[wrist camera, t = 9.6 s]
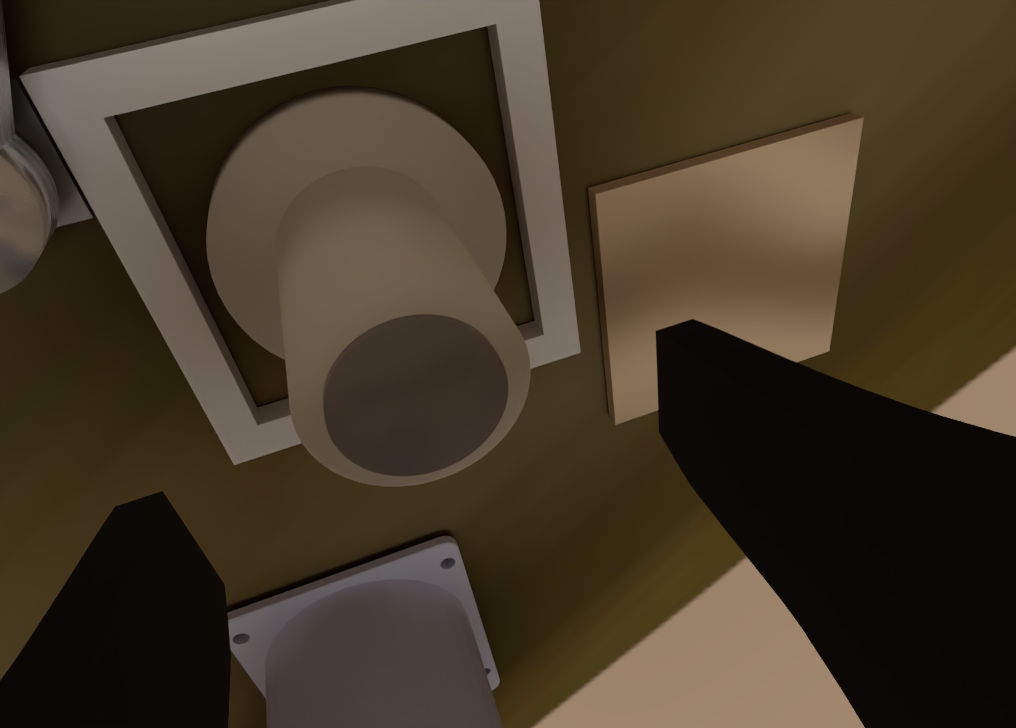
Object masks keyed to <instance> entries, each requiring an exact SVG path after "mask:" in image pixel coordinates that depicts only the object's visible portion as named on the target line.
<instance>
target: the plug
mask: <svg viewBox="0 0 1016 728" xmlns="http://www.w3.org/2000/svg"><path fill="white" fill-rule="evenodd" d="M206 246H207V259H208V263H209V268H210V272H211V276H212V279H213V282H214V284H215V287H216V290H217V292H218V295H219V296H220V298H221V300H222V302H223V304H224V305H225V307H226V309H227V311H228V312H229V313H230V315H231V316H232V317H233V319H234V320H235V321H236V322H237V324H238V325H239V326H240V327H241V328H242V329H243V330H244V331H245V332H246V333H247V334H248V335H249V336H250V337H251V338H252V339H253V340H254V341H256V342H257V343H258V344H260V345H261V346H262V347H264V348H265V349H266V350H268V351H270V352H271V353H273V354H275V355H276V356H278V357H280V358H281V359H284V360H285V364H286V375H287V385H288V396H289V407H290V413H291V418H292V422H293V425H294V428H295V431H296V433H297V435H298V437H299V439H300V440H301V442H302V444H303V445H304V447H305V448H306V449H307V450H308V452H309V453H310V454H311V455H312V456H313V457H314V458H315V459H316V460H317V461H318V462H320V463H321V464H322V465H323V466H325V467H326V468H328V469H329V470H331V471H332V472H334V473H336V474H338V475H340V476H342V477H345V478H347V479H350V480H353V481H356V482H360V483H364V484H369V485H375V486H384V487H401V486H412V485H418V484H423V483H428V482H432V481H435V480H439V479H442V478H445V477H447V476H450V475H452V474H455V473H457V472H459V471H461V470H463V469H465V468H467V467H468V466H470V465H472V464H473V463H475V462H476V461H478V460H479V459H481V458H482V457H483V456H485V455H486V454H487V453H488V452H490V451H491V450H492V449H493V448H494V447H495V446H496V445H497V444H498V443H499V442H500V441H501V440H502V439H503V438H504V437H505V436H506V434H507V433H508V432H509V431H510V429H511V428H512V426H513V425H514V423H515V422H516V420H517V419H518V417H519V415H520V413H521V411H522V409H523V407H524V404H525V401H526V398H527V395H528V390H529V386H530V375H531V367H530V357H529V353H528V350H527V346H526V343H525V341H524V339H523V337H522V334H521V333H520V331H519V330H518V328H517V326H516V325H515V323H514V322H513V320H512V319H511V317H510V315H509V314H508V312H507V311H506V309H505V308H504V306H503V305H502V303H501V301H500V300H499V298H498V297H497V295H496V294H495V292H494V289H495V286H496V284H497V282H498V280H499V276H500V273H501V270H502V266H503V262H504V256H505V250H506V220H505V212H504V208H503V204H502V200H501V196H500V193H499V191H498V188H497V186H496V183H495V181H494V178H493V177H492V175H491V173H490V171H489V170H488V168H487V166H486V164H485V163H484V161H483V160H482V159H481V157H480V156H479V155H478V154H477V152H476V151H475V150H474V148H473V147H472V146H471V145H470V144H469V143H468V142H467V141H466V140H465V139H464V138H463V136H462V135H461V134H460V133H459V132H458V131H457V130H456V129H455V128H454V127H453V126H452V125H451V124H450V123H449V122H448V121H446V120H445V119H444V118H442V117H441V116H440V115H438V114H437V113H436V112H434V111H433V110H432V109H430V108H428V107H426V106H425V105H423V104H421V103H419V102H417V101H415V100H413V99H411V98H408V97H406V96H403V95H400V94H398V93H395V92H391V91H387V90H382V89H378V88H371V87H361V86H342V87H331V88H325V89H319V90H314V91H311V92H308V93H305V94H302V95H299V96H295V97H293V98H291V99H289V100H287V101H285V102H283V103H281V104H279V105H277V106H275V107H274V108H272V109H271V110H269V111H268V112H266V113H265V114H263V115H262V116H260V117H259V118H258V119H257V120H256V121H254V122H253V123H252V124H251V125H250V126H249V127H248V128H247V129H246V130H245V131H244V132H243V133H242V134H241V135H240V137H239V138H238V139H237V140H236V141H235V143H234V144H233V145H232V146H231V148H230V150H229V151H228V153H227V155H226V156H225V158H224V160H223V162H222V163H221V166H220V168H219V171H218V173H217V175H216V178H215V180H214V184H213V188H212V192H211V197H210V202H209V211H208V221H207V234H206Z"/></svg>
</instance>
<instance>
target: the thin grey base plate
mask: <svg viewBox="0 0 1016 728" xmlns="http://www.w3.org/2000/svg"><path fill="white" fill-rule="evenodd" d="M10 87H11V97H12V107H13V117H14V128H15V134H16V135H17V136H18V137H19V138H21V139H22V140H23V141H24V142H25V143H27V144H28V145H29V146H30V147H31V148H32V149H33V150H34V151H35V152H36V154H37V155H38V156H39V157H40V159H41V160H42V161H43V162H44V164H45V166H46V167H47V169H48V170H49V172H50V174H51V176H52V178H53V180H54V183H55V186H56V189H57V192H58V198H59V217H58V222H57V225H56V227H60V226H63V225H67V224H71V223H75V222H79V221H83V220H86V219H90V218H93V217H94V215H95V213H94V211H93V209H92V207H91V206H90V204H89V202H88V200H87V198H86V197H85V195H84V193H83V191H82V189H81V188H80V186H79V184H78V182H77V180H76V179H75V177H74V175H73V173H72V171H71V170H70V168H69V166H68V164H67V162H66V160H65V159H64V157H63V155H62V153H61V151H60V150H59V148H58V146H57V144H56V142H55V141H54V139H53V137H52V135H51V133H50V132H49V130H48V128H47V126H46V124H45V123H44V121H43V119H42V117H41V115H40V114H39V112H38V110H37V108H36V106H35V104H34V103H33V101H32V99H31V97H30V95H29V94H28V92H27V90H26V88H25V86H24V85H23V83H22V81H21V79H20V77H19V76H18V77H14V78H10Z"/></svg>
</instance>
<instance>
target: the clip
mask: <svg viewBox="0 0 1016 728" xmlns="http://www.w3.org/2000/svg"><path fill="white" fill-rule="evenodd" d="M58 217H59V198H58V192H57V189H56V186H55V183H54V180H53V178H52V176H51V174H50V172H49V170H48V169H47V167H46V166H45V164H44V162H43V161H42V160H41V159H40V157H39V156H38V155H37V154H36V152H35V151H34V150H33V149H32V148H31V147H30V146H29V145H28V144H27V143H25V142H24V141H23V140H22V139H21V138H19V137H18V136H17V135H16V134H15V128H14V117H13V107H12V97H11V87H10V77H9V67H8V57H7V47H6V37H5V26H4V16H3V6H2V0H0V294H1V293H3V292H5V291H7V290H9V289H11V288H12V287H14V286H16V285H17V284H19V283H20V282H21V281H22V280H23V279H24V278H25V277H26V276H27V275H28V274H29V273H30V272H31V270H32V269H33V267H34V266H35V264H36V262H37V260H38V259H39V257H40V255H41V253H42V252H43V250H44V248H45V246H46V245H47V243H48V241H49V239H50V238H51V236H52V234H53V232H54V230H55V228H56V225H57V222H58Z"/></svg>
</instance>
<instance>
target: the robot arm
mask: <svg viewBox="0 0 1016 728" xmlns="http://www.w3.org/2000/svg"><path fill="white" fill-rule="evenodd" d="M656 356H657V384H658V413H659V433H660V434H661V436H662V438H663V440H664V441H665V443H666V445H667V447H668V448H669V450H670V452H671V453H672V455H673V457H674V459H675V460H676V462H677V464H678V465H679V467H680V469H681V470H682V472H683V473H684V475H685V477H686V478H687V480H688V481H689V483H690V485H691V486H692V487H693V489H694V490H695V491H696V493H697V494H698V495H699V497H700V498H701V499H702V500H703V502H704V503H705V504H706V506H707V507H708V508H709V509H710V511H711V512H712V513H713V515H714V516H715V517H716V518H717V520H718V521H719V522H720V523H721V525H722V526H723V527H724V529H725V530H726V531H727V532H728V534H729V535H730V536H731V537H732V539H733V540H734V541H735V542H736V544H737V545H738V546H739V547H740V549H741V550H742V551H743V552H744V554H745V555H746V556H747V557H748V559H749V560H750V561H751V562H752V564H753V565H754V566H755V567H756V569H757V570H758V571H759V572H760V574H761V575H762V576H763V577H764V579H765V580H766V581H767V582H768V584H769V585H770V586H771V588H772V589H773V590H774V591H775V593H776V594H777V595H778V596H779V598H780V599H781V600H782V601H783V603H784V604H785V605H786V607H787V608H788V610H789V611H790V612H791V614H792V615H793V616H794V618H795V619H796V621H797V622H798V623H799V625H800V626H801V627H802V629H803V630H804V632H805V634H806V635H807V637H808V638H809V640H810V641H811V643H812V644H813V646H814V647H815V649H816V651H817V652H818V654H819V655H820V657H821V658H822V659H823V661H824V663H825V664H826V666H827V667H828V669H829V671H830V672H831V674H832V675H833V677H834V678H835V680H836V682H837V683H838V685H839V686H840V687H841V689H842V691H843V693H844V694H845V696H846V697H847V699H848V700H849V702H850V704H851V705H852V707H853V709H854V710H855V712H856V714H857V715H858V717H859V719H860V720H861V722H862V723H863V725H864V727H865V728H1016V437H1014V436H1010V435H1006V434H1003V433H999V432H995V431H992V430H989V429H985V428H982V427H978V426H974V425H971V424H967V423H964V422H961V421H957V420H954V419H950V418H947V417H943V416H940V415H937V414H934V413H931V412H928V411H925V410H921V409H918V408H915V407H912V406H909V405H906V404H904V403H901V402H898V401H895V400H892V399H890V398H887V397H884V396H881V395H878V394H876V393H873V392H870V391H867V390H864V389H862V388H859V387H856V386H854V385H851V384H849V383H846V382H843V381H841V380H838V379H836V378H833V377H831V376H828V375H826V374H823V373H821V372H818V371H816V370H813V369H811V368H808V367H806V366H804V365H801V364H799V363H796V362H794V361H792V360H789V359H787V358H785V357H782V356H780V355H778V354H775V353H773V352H771V351H768V350H766V349H764V348H761V347H759V346H757V345H754V344H752V343H750V342H748V341H745V340H743V339H741V338H738V337H736V336H734V335H731V334H729V333H727V332H724V331H722V330H720V329H717V328H715V327H712V326H710V325H707V324H705V323H702V322H700V321H697V320H694V319H691V320H688V321H685V322H682V323H678V324H675V325H672V326H669V327H666V328H663V329H660V330H657V331H656ZM447 558H449V559H447ZM445 559H447V560H445ZM242 633H243V634H242ZM230 650H231V651H232V653H233V654H234V655H235V657H236V658H237V660H238V661H239V662H240V664H241V665H242V667H243V668H244V669H245V671H246V672H247V674H248V675H249V676H250V678H251V679H252V680H253V682H254V683H255V685H256V686H257V687H258V689H259V690H260V692H261V693H262V694H263V696H264V697H265V699H266V716H267V728H503V725H502V722H501V719H500V716H499V713H498V709H497V706H496V703H495V700H494V697H493V693H492V690H494V689H495V688H496V687H497V686H498V685H499V683H500V679H499V676H498V672H497V669H496V666H495V663H494V660H493V656H492V653H491V650H490V647H489V644H488V640H487V637H486V634H485V631H484V628H483V624H482V621H481V618H480V615H479V612H478V608H477V605H476V602H475V599H474V596H473V593H472V589H471V586H470V583H469V580H468V577H467V573H466V570H465V567H464V564H463V561H462V557H461V554H460V551H459V548H458V545H457V542H456V540H455V539H454V538H453V537H451V536H441V537H438V538H435V539H432V540H429V541H427V542H424V543H421V544H418V545H415V546H413V547H410V548H407V549H404V550H401V551H399V552H396V553H393V554H390V555H387V556H385V557H382V558H379V559H376V560H373V561H371V562H368V563H365V564H362V565H359V566H357V567H354V568H351V569H348V570H345V571H343V572H340V573H337V574H334V575H331V576H329V577H326V578H323V579H320V580H317V581H315V582H312V583H309V584H306V585H303V586H301V587H298V588H295V589H292V590H289V591H287V592H284V593H281V594H278V595H275V596H273V597H270V598H267V599H264V600H261V601H259V602H256V603H253V604H250V605H248V606H245V607H242V608H239V609H236V610H234V611H231V612H229V613H227V605H226V595H225V586H224V583H223V582H222V580H221V579H220V577H219V576H218V574H217V573H216V571H215V570H214V568H213V567H212V565H211V564H210V562H209V561H208V559H207V558H206V556H205V555H204V553H203V552H202V550H201V549H200V547H199V546H198V544H197V543H196V541H195V540H194V538H193V536H192V535H191V533H190V532H189V530H188V529H187V527H186V526H185V524H184V523H183V521H182V520H181V518H180V517H179V515H178V514H177V512H176V511H175V509H174V508H173V506H172V505H171V503H170V502H169V500H168V499H167V497H166V496H165V494H164V493H163V491H162V492H158V493H155V494H152V495H149V496H146V497H143V498H140V499H137V500H134V501H131V502H128V503H125V504H122V505H118V506H115V508H114V509H113V511H112V512H111V514H110V515H109V516H108V518H107V519H106V521H105V522H104V524H103V525H102V527H101V528H100V530H99V532H98V533H97V535H96V536H95V538H94V539H93V541H92V542H91V544H90V546H89V547H88V549H87V550H86V552H85V553H84V555H83V557H82V558H81V560H80V561H79V563H78V564H77V566H76V568H75V569H74V571H73V572H72V574H71V575H70V577H69V579H68V580H67V582H66V583H65V585H64V586H63V588H62V590H61V591H60V593H59V594H58V596H57V597H56V599H55V600H54V602H53V603H52V605H51V606H50V608H49V610H48V611H47V613H46V614H45V616H44V617H43V619H42V620H41V622H40V623H39V625H38V626H37V628H36V629H35V631H34V632H33V634H32V636H31V637H30V639H29V640H28V642H27V643H26V645H25V646H24V648H23V649H22V651H21V652H20V654H19V655H18V657H17V658H16V660H15V661H14V662H13V664H12V665H11V667H10V668H9V669H8V671H7V672H6V674H5V675H4V676H3V678H2V679H1V681H0V728H228V715H229V690H230V662H231V651H230Z"/></svg>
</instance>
